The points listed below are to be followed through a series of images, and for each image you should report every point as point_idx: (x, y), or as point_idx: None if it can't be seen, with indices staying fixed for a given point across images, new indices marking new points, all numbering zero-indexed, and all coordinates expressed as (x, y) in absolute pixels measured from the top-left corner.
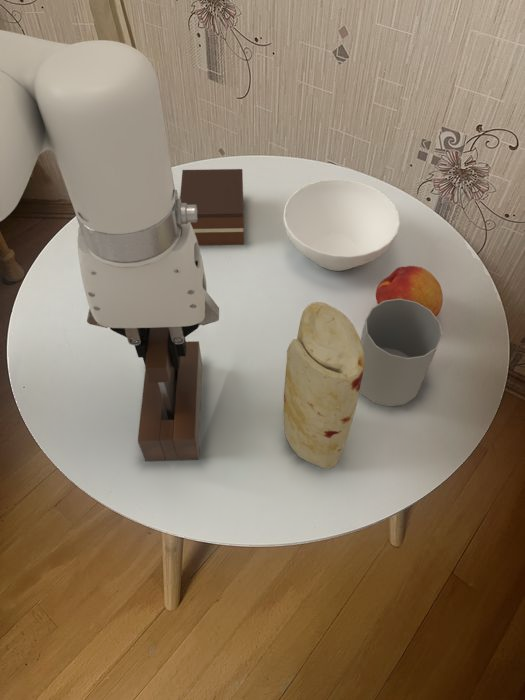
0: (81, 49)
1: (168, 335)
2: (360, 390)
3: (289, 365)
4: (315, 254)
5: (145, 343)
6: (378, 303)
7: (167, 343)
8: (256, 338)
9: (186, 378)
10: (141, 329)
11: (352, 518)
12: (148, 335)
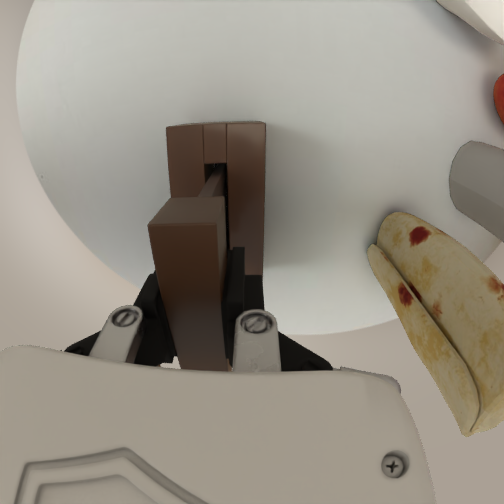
0: None
1: (224, 339)
2: (452, 193)
3: (443, 368)
4: (464, 6)
5: (169, 353)
6: (500, 98)
7: (224, 351)
8: (349, 81)
9: (245, 206)
10: (149, 354)
11: (394, 315)
12: (169, 335)
